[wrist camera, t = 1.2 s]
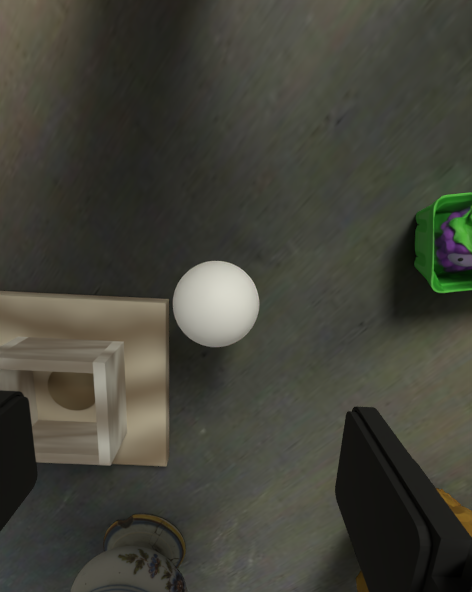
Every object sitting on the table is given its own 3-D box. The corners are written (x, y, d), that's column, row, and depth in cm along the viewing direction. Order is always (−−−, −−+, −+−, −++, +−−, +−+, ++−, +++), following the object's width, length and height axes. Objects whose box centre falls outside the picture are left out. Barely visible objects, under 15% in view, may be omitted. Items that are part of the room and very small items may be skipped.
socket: (-19, 289, 31) (-78, 307, 25) (168, 299, 31) (153, 318, 25) (5, 448, 35) (-41, 495, 29) (169, 455, 35) (156, 503, 30)
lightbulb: (266, 286, 31) (282, 325, 20) (216, 323, 32) (206, 379, 21) (226, 235, 29) (221, 247, 19) (176, 275, 30) (143, 308, 20)
